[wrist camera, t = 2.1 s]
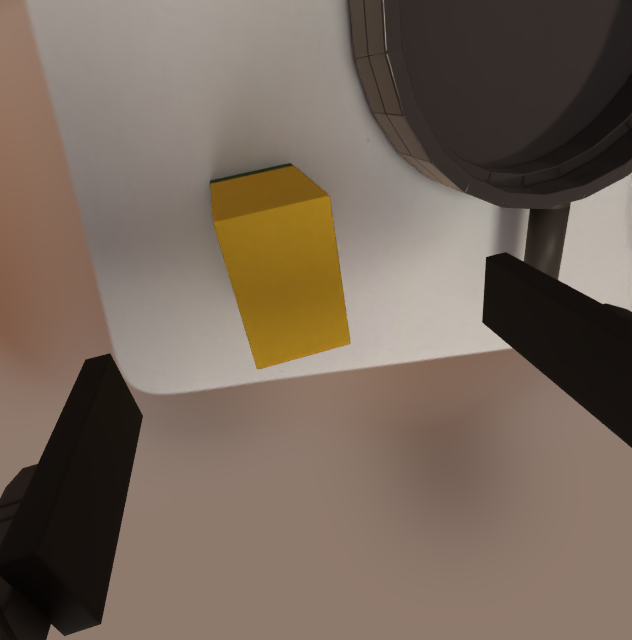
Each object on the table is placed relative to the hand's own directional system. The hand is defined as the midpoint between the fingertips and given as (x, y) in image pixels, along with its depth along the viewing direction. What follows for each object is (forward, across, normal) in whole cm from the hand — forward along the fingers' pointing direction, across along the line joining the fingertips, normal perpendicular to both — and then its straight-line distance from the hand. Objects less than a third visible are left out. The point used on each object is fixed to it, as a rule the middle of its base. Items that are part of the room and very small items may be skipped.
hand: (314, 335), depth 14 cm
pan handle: (+9, +16, -4) cm, 19 cm away
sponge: (+12, 0, 0) cm, 12 cm away
